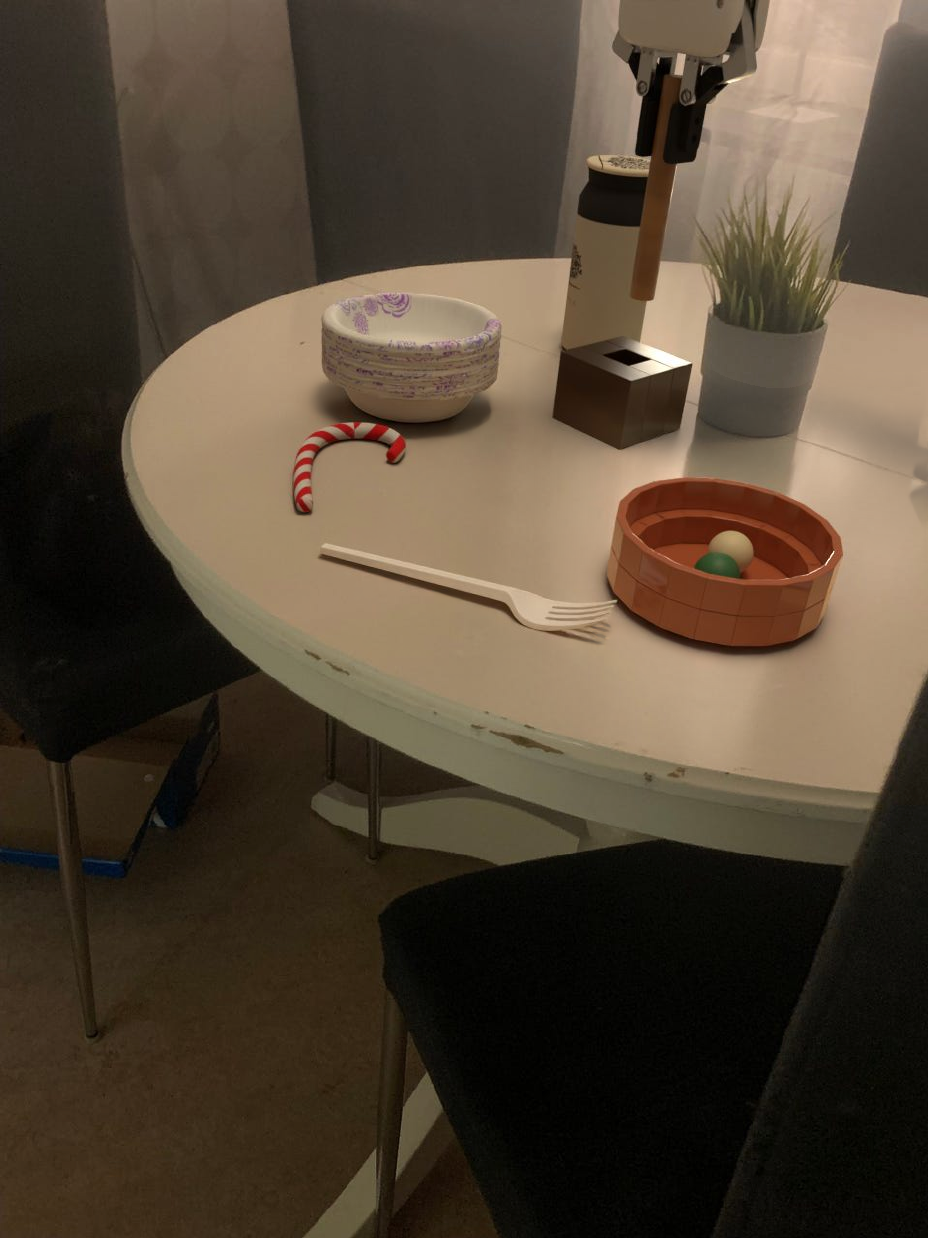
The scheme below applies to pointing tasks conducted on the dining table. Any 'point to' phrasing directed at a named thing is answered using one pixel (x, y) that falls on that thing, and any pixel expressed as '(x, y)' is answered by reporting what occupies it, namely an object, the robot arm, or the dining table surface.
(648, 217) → the stick
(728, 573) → the green bead
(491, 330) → the paper bowls
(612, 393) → the holder
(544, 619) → the fork
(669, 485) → the bowl
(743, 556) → the cream bead
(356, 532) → the dining table surface
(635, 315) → the travel mug
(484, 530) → the dining table surface
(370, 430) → the candy cane
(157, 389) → the dining table surface
